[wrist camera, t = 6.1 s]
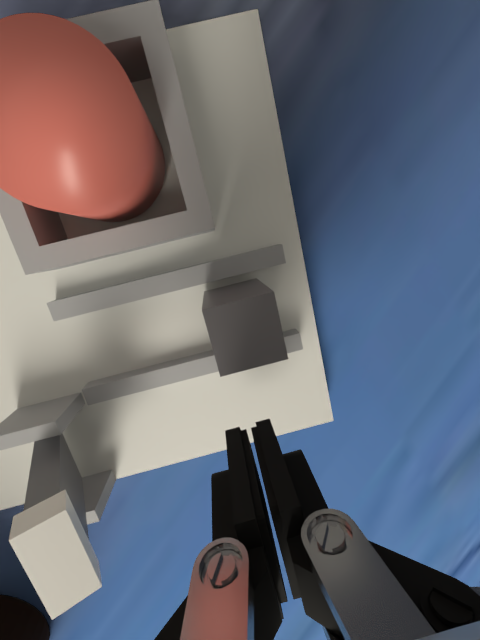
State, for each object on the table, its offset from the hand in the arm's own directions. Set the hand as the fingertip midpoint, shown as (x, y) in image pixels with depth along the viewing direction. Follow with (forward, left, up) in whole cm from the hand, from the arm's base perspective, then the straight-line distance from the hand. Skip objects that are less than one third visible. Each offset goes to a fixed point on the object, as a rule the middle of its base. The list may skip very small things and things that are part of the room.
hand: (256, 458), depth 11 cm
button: (+3, -12, -4) cm, 13 cm away
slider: (-1, -5, -4) cm, 6 cm away
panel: (+5, -7, -6) cm, 10 cm away
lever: (+9, 0, -3) cm, 9 cm away
